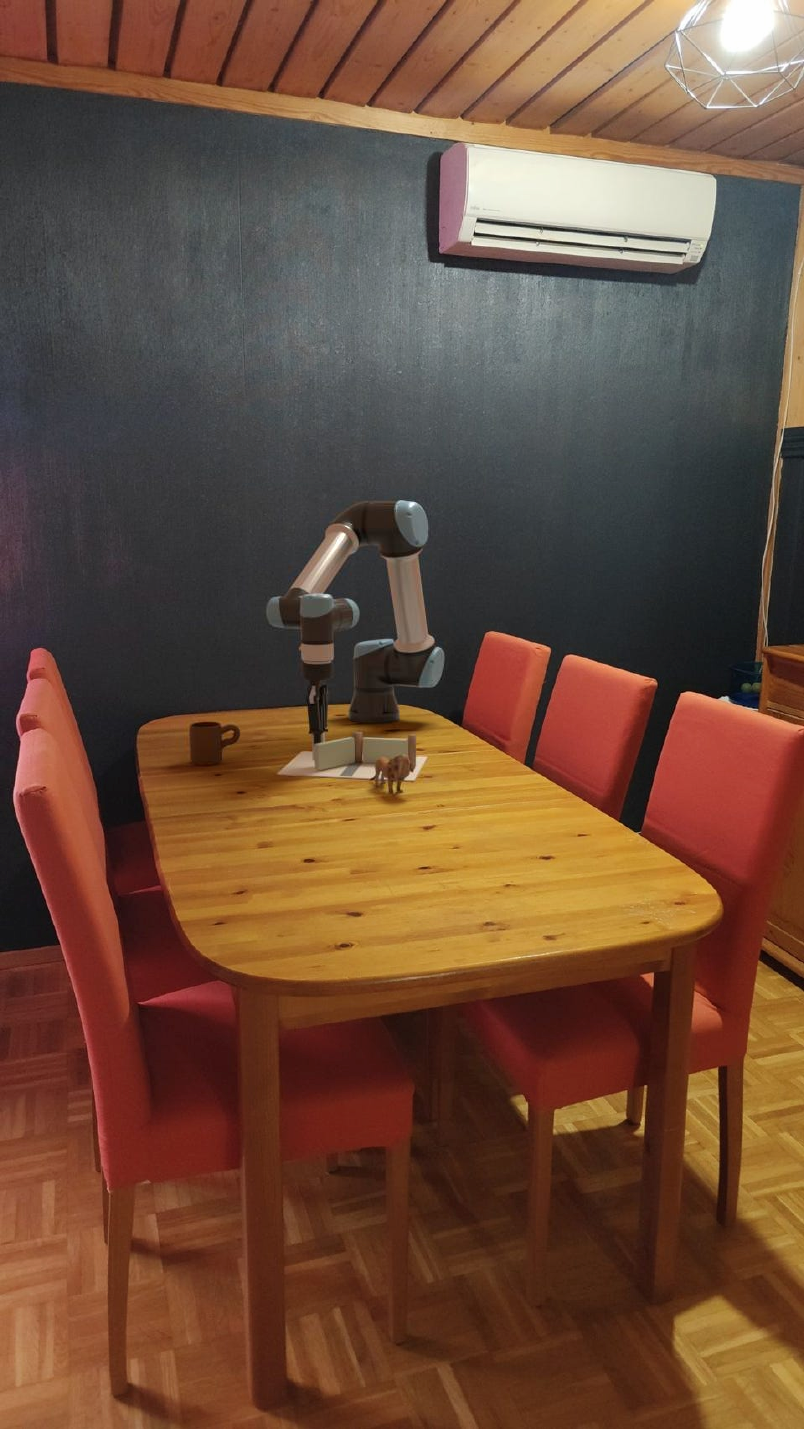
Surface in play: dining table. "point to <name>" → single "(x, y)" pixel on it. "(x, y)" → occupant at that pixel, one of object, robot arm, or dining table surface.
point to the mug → (209, 742)
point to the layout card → (340, 769)
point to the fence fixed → (383, 748)
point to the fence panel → (334, 753)
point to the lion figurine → (393, 771)
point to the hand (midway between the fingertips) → (318, 759)
